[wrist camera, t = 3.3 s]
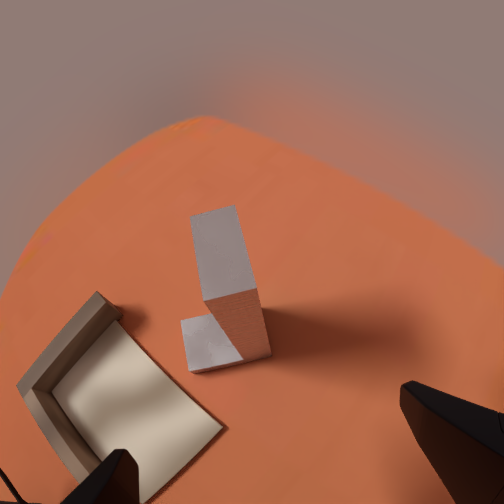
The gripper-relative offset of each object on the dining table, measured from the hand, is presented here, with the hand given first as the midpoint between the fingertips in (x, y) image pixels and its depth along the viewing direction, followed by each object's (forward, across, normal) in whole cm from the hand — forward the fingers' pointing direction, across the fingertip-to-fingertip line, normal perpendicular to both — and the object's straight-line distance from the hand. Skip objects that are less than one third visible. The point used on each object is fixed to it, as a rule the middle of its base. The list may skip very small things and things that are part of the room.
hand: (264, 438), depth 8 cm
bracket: (+14, +2, +4) cm, 15 cm away
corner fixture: (+12, +12, +7) cm, 18 cm away
